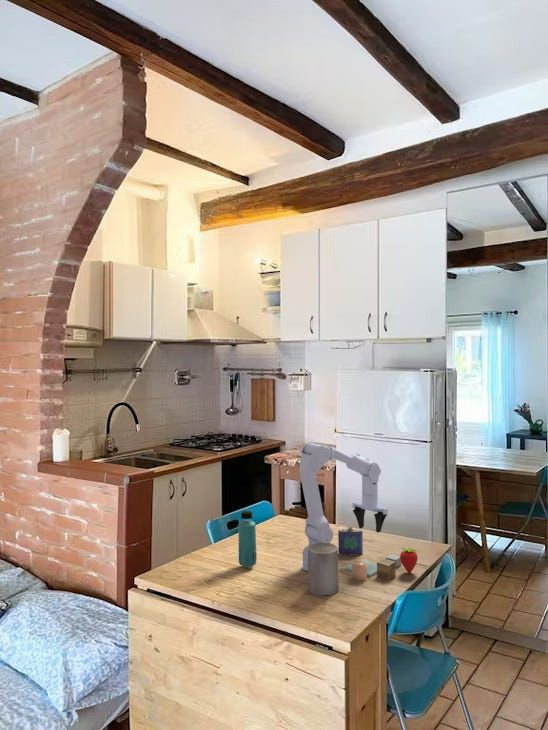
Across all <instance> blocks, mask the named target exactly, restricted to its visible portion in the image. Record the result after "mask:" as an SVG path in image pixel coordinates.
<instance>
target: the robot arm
mask: <svg viewBox="0 0 548 730" xmlns="http://www.w3.org/2000/svg"><path fill="white" fill-rule="evenodd" d="M300 455H301V459H300V463H299V476H300V480H301V485H302V487H301V488H302V491H303V496H304V501H305V506H306V512H307V516H308V517H307V518H306V519H305V521H304V522H305V527H304V534H305V536H306V537H307V540H308V543H307V546H305V547H303V550H302V566H301V567H300V569H301V570H304V571H307V572H308V546H310V545H311V544H314V543H330V544H331V542H332V541H333V538H334V531H333V529H332V528H331V526H330V522H329V521H328V519H327V518H326V516H325V515H324V510H323V509H324V508H323V504H322V498H321V494H320V488H319V485H318V478H317V472H318V471H319V470H320V469H322V467H324V466H325V465H326V464H327V463H328V462H329V461H332V460H336V461H339V462H341V463H344V464H345V465H346V468H347V469H349V470H351V471H353V472H355V473H358V474H359V475H360V476H361V499H362V500H361V502H360V501H353V502H352V504H351V505H352V506H351V507H352V508H353V509H352V512H353V514H354V516H355V518H356V521H357V524H358V528H359V529H363V528H364V527H365V514H366V511H370V512H374V518H375V519H374V520H375V533H381V532H382V527H383V525H384V521H385V519H386V517H387V516H388V514H389V507H384V506H383V505H379V503H378V502H379V500H378V487H379V485H378V483H379V481H380V480H379V478H380V475H381V473H382V469H381V467H380V466H379V464H378V463H377V462H374V461H370V459H369V458H366V457H363V456H361V454H360V453H352V454H350V455H349V454H347V453H345V452H343V451H341V450H339V449H337V448H335V447H333V446H328V445H325V444H319V443H315V442H307V443H306V444H305V445H303V447H302V449H301V450H300Z"/></svg>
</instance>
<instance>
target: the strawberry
mask: <svg viewBox="0 0 548 730" xmlns="http://www.w3.org/2000/svg"><path fill="white" fill-rule="evenodd" d="M406 545H407V547H409V548H405V547H401V548H400V549H402V551H401V552H400V554H399V556H400V560H401V566H403V568H404V570H406V572H407V573H408V574H411V573H412V571H413V570H414V569H415V567H416V565H417V562H418V557H419V556H418V553H417V552H416V551H417V549H413V548H412V547H410V545H408V543H406Z"/></svg>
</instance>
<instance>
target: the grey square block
mask: <svg viewBox="0 0 548 730" xmlns="http://www.w3.org/2000/svg"><path fill="white" fill-rule="evenodd" d="M385 559H386V560H390V561H394V562H396V568H398V567H401V566H402V563H401V560H400V555H396V554H388V556H385Z"/></svg>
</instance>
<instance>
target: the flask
mask: <svg viewBox="0 0 548 730" xmlns="http://www.w3.org/2000/svg"><path fill="white" fill-rule="evenodd" d="M353 527H354V526H353V525H349V527H348V528H342V529H339V530H338V532H337V533H338V534H337V535H338V536H337V537H338V538H337V539H338V546H337V547H338V556H339V555H340V556H361V555H363V552H364V551H363V550H364V549H363V548H364V547H363V546H364V544H363V541H364V540H363V530H361V529H354V528H353Z"/></svg>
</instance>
